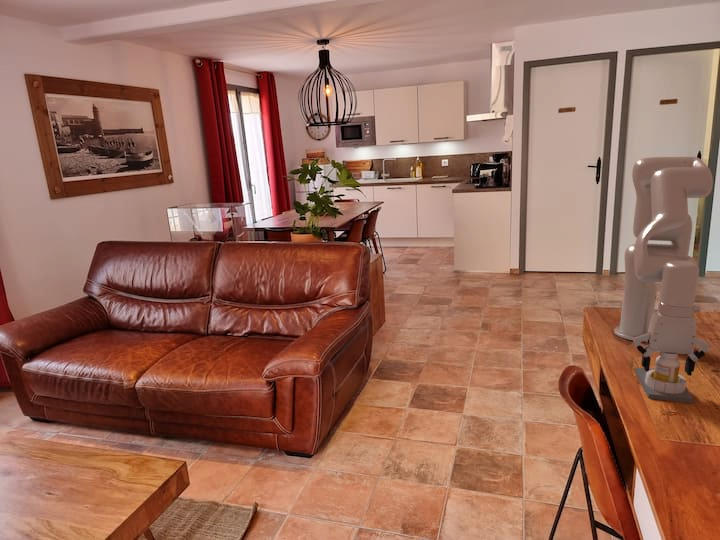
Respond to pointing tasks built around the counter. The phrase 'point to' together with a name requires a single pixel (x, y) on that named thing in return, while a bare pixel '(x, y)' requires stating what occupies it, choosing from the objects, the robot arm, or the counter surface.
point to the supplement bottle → (667, 367)
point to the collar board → (659, 394)
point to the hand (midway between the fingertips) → (666, 371)
